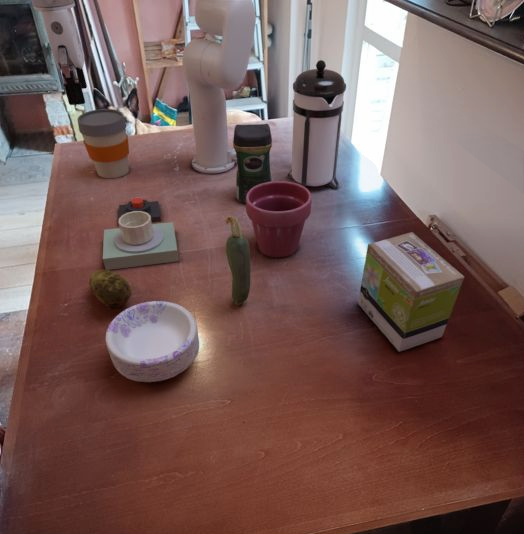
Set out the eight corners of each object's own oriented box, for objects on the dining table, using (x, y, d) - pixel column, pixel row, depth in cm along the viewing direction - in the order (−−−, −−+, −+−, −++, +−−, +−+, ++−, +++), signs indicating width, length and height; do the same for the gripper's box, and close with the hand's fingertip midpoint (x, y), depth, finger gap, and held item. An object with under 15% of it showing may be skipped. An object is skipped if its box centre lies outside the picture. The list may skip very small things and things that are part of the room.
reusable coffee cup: (115, 158, 144) (102, 105, 134) (144, 168, 139) (134, 114, 129) (82, 173, 137) (66, 119, 127) (111, 185, 132) (97, 129, 121)
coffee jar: (271, 189, 130) (271, 118, 116) (273, 204, 124) (273, 131, 111) (235, 190, 130) (232, 119, 116) (235, 205, 124) (232, 132, 111)
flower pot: (254, 227, 117) (253, 177, 107) (312, 233, 114) (315, 182, 105) (241, 260, 107) (238, 208, 98) (303, 267, 105) (306, 215, 96)
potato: (134, 279, 102) (126, 247, 97) (135, 318, 94) (127, 285, 88) (94, 284, 101) (84, 252, 95) (92, 324, 92) (80, 292, 87)
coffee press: (350, 176, 135) (365, 56, 113) (324, 200, 125) (335, 73, 104) (296, 162, 141) (302, 46, 120) (268, 184, 132) (268, 61, 110)
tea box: (355, 304, 96) (366, 241, 85) (397, 292, 99) (413, 229, 88) (398, 354, 86) (417, 290, 76) (443, 338, 89) (467, 274, 78)
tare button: (143, 202, 120) (142, 197, 119) (144, 208, 118) (142, 202, 117) (132, 204, 120) (131, 198, 119) (132, 209, 118) (131, 203, 117)
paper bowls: (163, 407, 78) (155, 375, 72) (97, 371, 84) (84, 339, 78) (218, 351, 87) (214, 318, 81) (154, 321, 93) (147, 289, 87)
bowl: (153, 227, 110) (149, 209, 107) (154, 244, 105) (151, 225, 102) (123, 230, 109) (118, 212, 106) (123, 247, 104) (118, 229, 101)
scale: (174, 232, 115) (172, 219, 112) (178, 261, 107) (176, 247, 104) (107, 240, 113) (103, 227, 110) (105, 270, 105) (101, 256, 102)
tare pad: (159, 205, 124) (157, 195, 122) (161, 221, 119) (159, 210, 117) (120, 209, 123) (117, 199, 121) (120, 226, 117) (117, 215, 115)
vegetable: (254, 301, 97) (252, 212, 83) (247, 314, 94) (243, 225, 80) (234, 296, 98) (229, 208, 84) (226, 310, 95) (219, 220, 81)
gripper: (70, 5, 84) (95, 108, 96) (75, -13, 96) (97, 81, 108) (25, 8, 83) (57, 112, 95) (36, -10, 95) (63, 84, 107)
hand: (78, 96), depth 101 cm, fingers open, 9 cm apart
